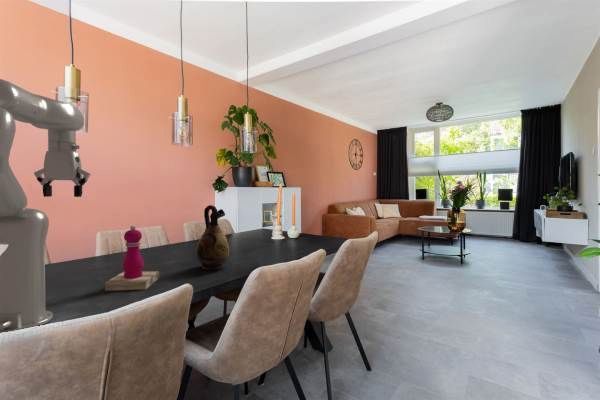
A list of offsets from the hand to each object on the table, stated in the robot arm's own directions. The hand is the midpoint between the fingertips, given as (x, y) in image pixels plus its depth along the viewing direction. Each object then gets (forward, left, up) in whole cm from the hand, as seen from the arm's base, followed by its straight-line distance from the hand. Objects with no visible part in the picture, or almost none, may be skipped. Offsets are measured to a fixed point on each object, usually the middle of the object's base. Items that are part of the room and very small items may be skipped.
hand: (62, 196), depth 102 cm
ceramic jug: (+31, -46, -34) cm, 65 cm away
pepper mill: (+8, -20, -32) cm, 38 cm away
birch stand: (+8, -20, -34) cm, 41 cm away
